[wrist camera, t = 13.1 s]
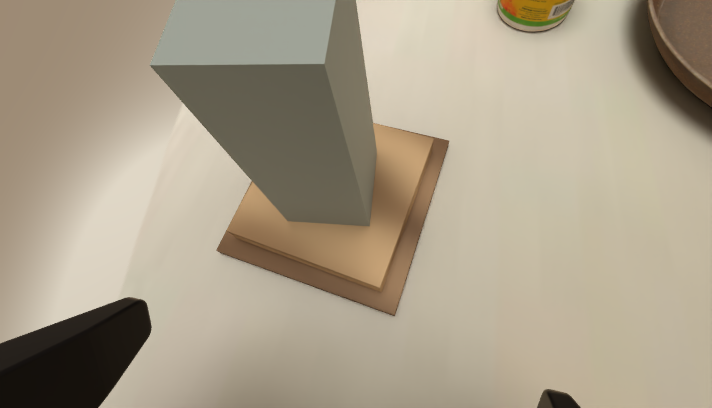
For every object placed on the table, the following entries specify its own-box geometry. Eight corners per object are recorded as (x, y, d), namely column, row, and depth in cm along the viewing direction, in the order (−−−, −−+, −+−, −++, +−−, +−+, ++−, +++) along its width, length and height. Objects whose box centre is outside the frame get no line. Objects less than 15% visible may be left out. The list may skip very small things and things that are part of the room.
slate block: (369, 226, 21) (324, 63, 9) (287, 221, 22) (149, 65, 10) (377, 151, 23) (346, -64, 11) (301, 149, 24) (197, -54, 12)
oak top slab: (381, 292, 21) (379, 287, 20) (236, 238, 24) (226, 230, 22) (432, 151, 25) (433, 138, 23) (300, 116, 27) (294, 103, 26)
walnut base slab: (394, 317, 22) (394, 314, 21) (226, 256, 25) (216, 250, 24) (446, 152, 26) (449, 140, 25) (296, 116, 29) (291, 103, 28)
